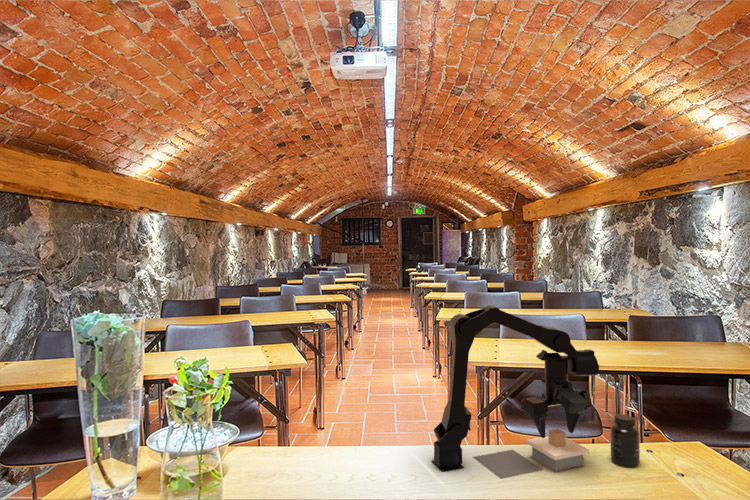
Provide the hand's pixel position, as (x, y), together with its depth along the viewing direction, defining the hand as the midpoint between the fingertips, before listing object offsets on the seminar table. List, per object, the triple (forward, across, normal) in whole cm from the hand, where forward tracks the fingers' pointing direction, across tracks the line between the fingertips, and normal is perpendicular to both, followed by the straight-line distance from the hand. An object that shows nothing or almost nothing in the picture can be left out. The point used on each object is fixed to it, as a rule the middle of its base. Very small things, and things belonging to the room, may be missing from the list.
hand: (557, 435), depth 123 cm
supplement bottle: (+8, +17, -6) cm, 20 cm away
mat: (+8, -13, +4) cm, 16 cm away
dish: (+8, 0, 0) cm, 8 cm away
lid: (+4, 0, 0) cm, 4 cm away
